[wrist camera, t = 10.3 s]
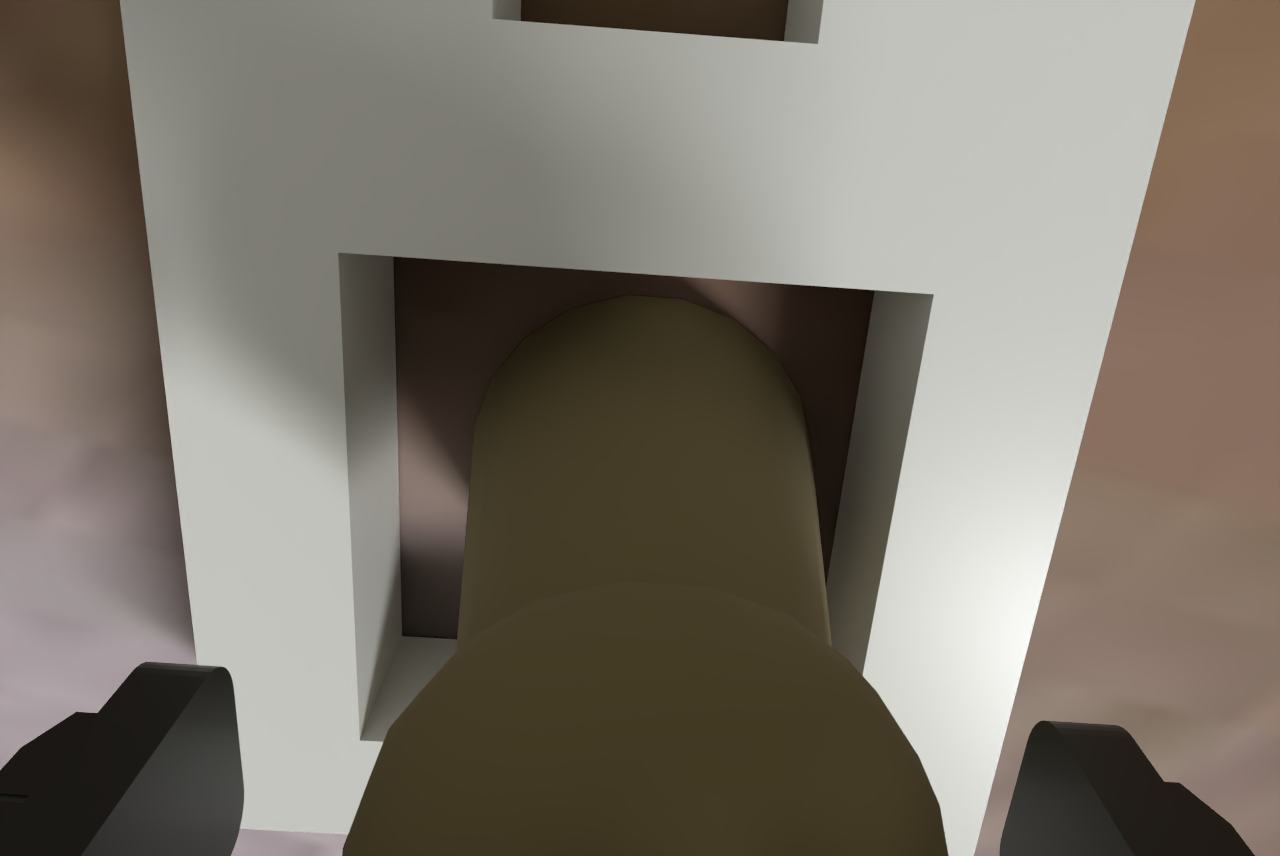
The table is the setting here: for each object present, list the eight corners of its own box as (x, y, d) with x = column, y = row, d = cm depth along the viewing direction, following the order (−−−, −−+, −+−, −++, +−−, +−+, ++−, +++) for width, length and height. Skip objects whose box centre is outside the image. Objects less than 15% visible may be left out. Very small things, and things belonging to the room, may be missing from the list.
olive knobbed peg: (402, 445, 17) (38, 1046, 7) (659, 218, 15) (703, 539, 5) (626, 660, 19) (614, 1407, 8) (878, 474, 17) (1238, 1098, 7)
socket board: (1204, -518, 12) (1374, -693, 9) (922, 750, 19) (970, 866, 17) (169, -617, 12) (22, -829, 9) (278, 714, 19) (216, 827, 16)
